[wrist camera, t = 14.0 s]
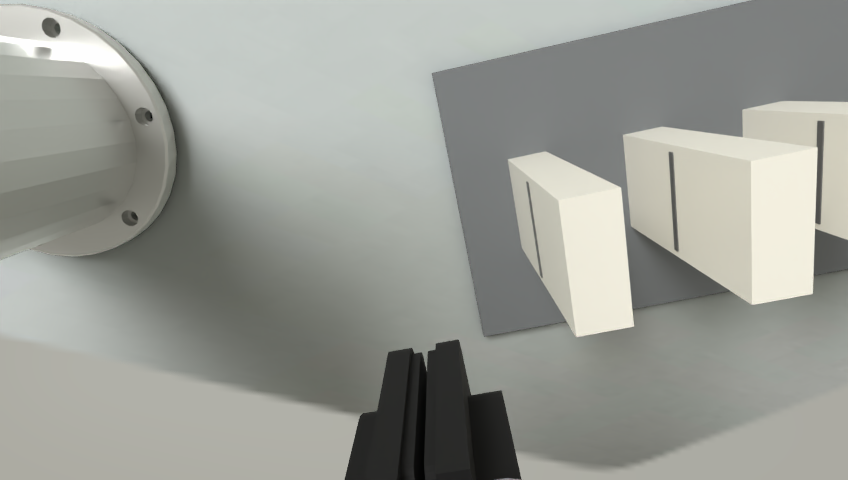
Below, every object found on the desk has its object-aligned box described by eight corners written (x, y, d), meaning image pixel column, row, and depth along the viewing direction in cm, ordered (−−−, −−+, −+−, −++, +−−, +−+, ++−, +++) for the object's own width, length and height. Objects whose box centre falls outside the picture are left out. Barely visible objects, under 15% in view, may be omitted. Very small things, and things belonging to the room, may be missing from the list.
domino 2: (630, 226, 26) (750, 305, 16) (621, 135, 24) (749, 161, 15) (669, 218, 25) (814, 293, 16) (663, 126, 24) (819, 147, 14)
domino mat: (483, 332, 28) (484, 336, 28) (431, 73, 24) (432, 73, 23) (1016, 233, 26) (1027, 235, 25) (1066, -71, 22) (1081, -75, 21)
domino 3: (742, 204, 25) (935, 271, 16) (741, 109, 24) (953, 119, 14) (782, 196, 25) (1003, 258, 15) (784, 100, 24) (1028, 104, 14)
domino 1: (521, 248, 26) (575, 337, 16) (506, 159, 24) (556, 200, 15) (558, 240, 26) (635, 326, 16) (546, 151, 24) (622, 187, 15)
